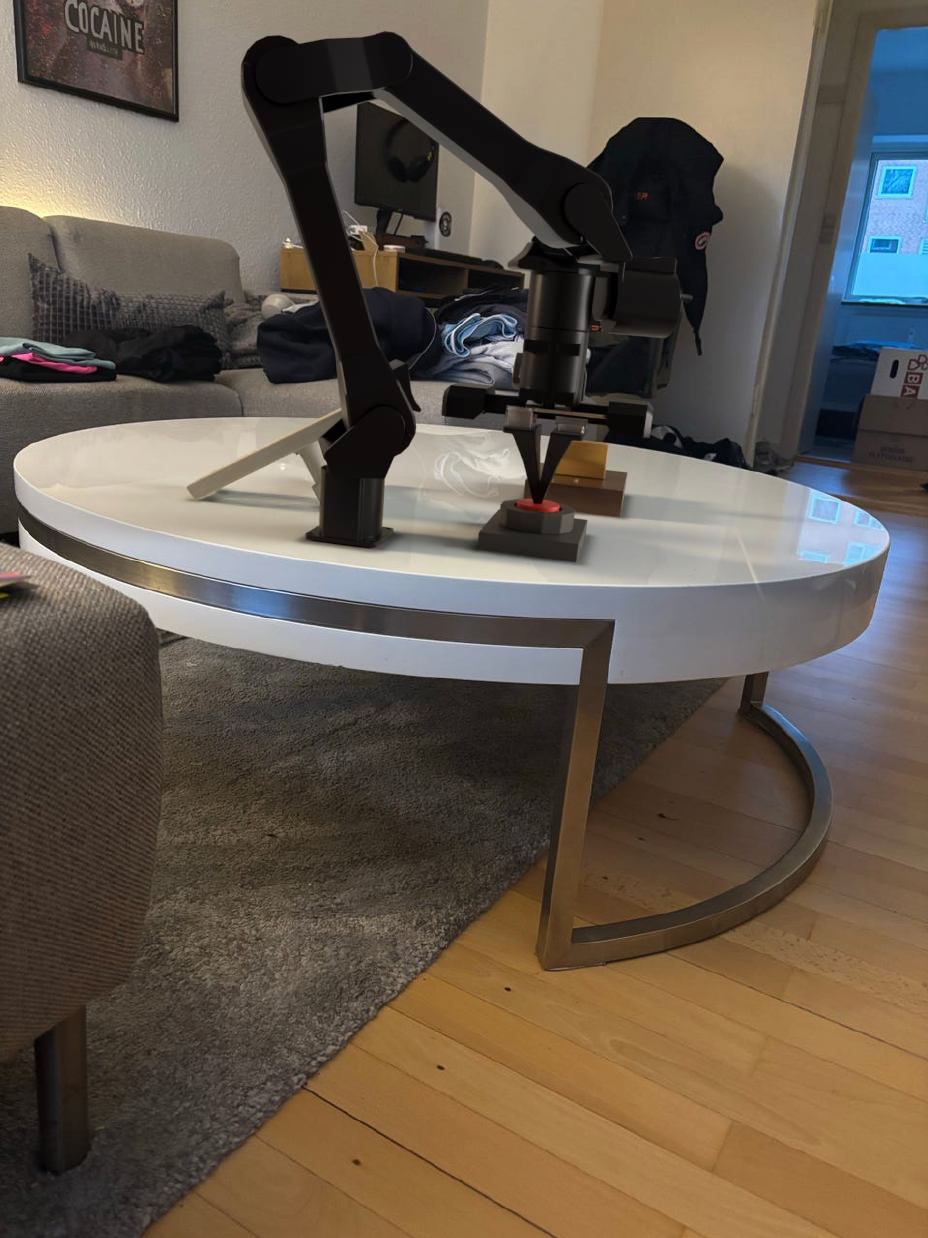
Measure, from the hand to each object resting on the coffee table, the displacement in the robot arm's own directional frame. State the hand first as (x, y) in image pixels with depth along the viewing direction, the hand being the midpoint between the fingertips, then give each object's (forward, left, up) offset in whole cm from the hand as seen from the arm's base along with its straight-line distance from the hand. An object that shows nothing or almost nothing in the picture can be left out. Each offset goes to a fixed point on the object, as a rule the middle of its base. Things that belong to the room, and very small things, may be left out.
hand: (537, 502), depth 86 cm
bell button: (0, 0, -2) cm, 2 cm away
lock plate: (+24, -2, -4) cm, 24 cm away
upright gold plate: (+24, -2, -1) cm, 24 cm away
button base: (0, 0, -4) cm, 4 cm away
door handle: (+9, +28, -4) cm, 30 cm away
